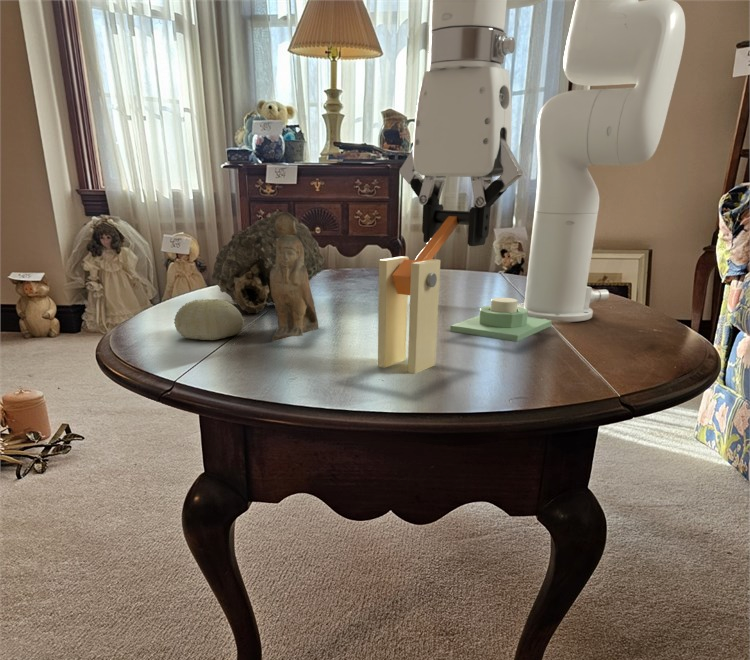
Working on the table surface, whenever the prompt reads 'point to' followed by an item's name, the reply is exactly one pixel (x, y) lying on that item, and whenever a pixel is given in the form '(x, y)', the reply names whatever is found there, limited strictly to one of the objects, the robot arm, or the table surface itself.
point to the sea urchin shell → (208, 320)
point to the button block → (502, 324)
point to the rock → (259, 262)
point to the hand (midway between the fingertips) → (454, 241)
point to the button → (504, 305)
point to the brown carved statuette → (291, 283)
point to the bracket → (420, 317)
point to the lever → (430, 246)
